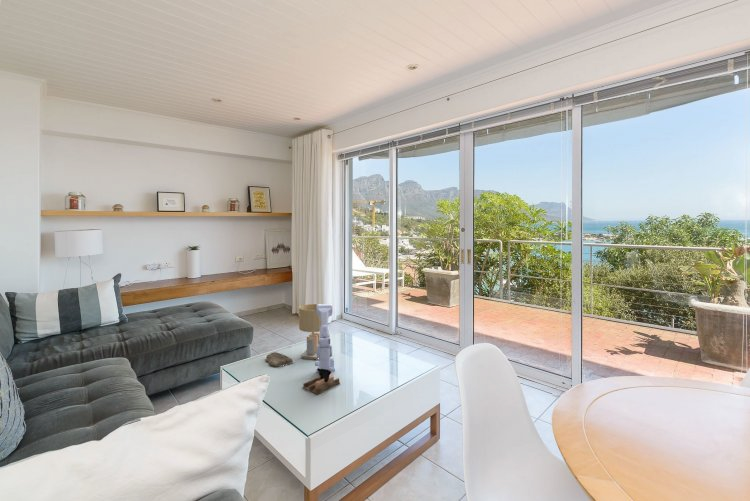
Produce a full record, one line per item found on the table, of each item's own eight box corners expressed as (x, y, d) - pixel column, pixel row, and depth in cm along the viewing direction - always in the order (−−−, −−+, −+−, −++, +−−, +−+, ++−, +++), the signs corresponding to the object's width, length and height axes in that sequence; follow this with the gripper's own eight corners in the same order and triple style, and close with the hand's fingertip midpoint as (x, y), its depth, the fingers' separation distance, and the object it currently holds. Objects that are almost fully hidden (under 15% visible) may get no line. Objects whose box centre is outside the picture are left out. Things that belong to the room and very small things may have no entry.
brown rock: (261, 359, 243) (273, 368, 227) (261, 352, 242) (273, 361, 227) (280, 355, 252) (293, 363, 236) (281, 348, 251) (293, 356, 236)
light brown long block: (330, 381, 207) (330, 375, 207) (333, 382, 206) (333, 376, 206) (315, 388, 198) (315, 381, 198) (318, 390, 197) (318, 383, 196)
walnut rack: (326, 378, 214) (326, 373, 214) (339, 383, 207) (340, 378, 206) (302, 388, 200) (302, 383, 200) (316, 395, 193) (316, 389, 193)
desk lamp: (305, 349, 262) (305, 303, 259) (330, 351, 258) (330, 304, 255) (294, 359, 243) (294, 309, 240) (321, 362, 239) (321, 311, 236)
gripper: (310, 356, 202) (310, 379, 203) (328, 363, 193) (328, 387, 194) (320, 353, 208) (320, 375, 209) (337, 359, 198) (337, 382, 199)
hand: (324, 380), depth 202 cm, fingers open, 3 cm apart
